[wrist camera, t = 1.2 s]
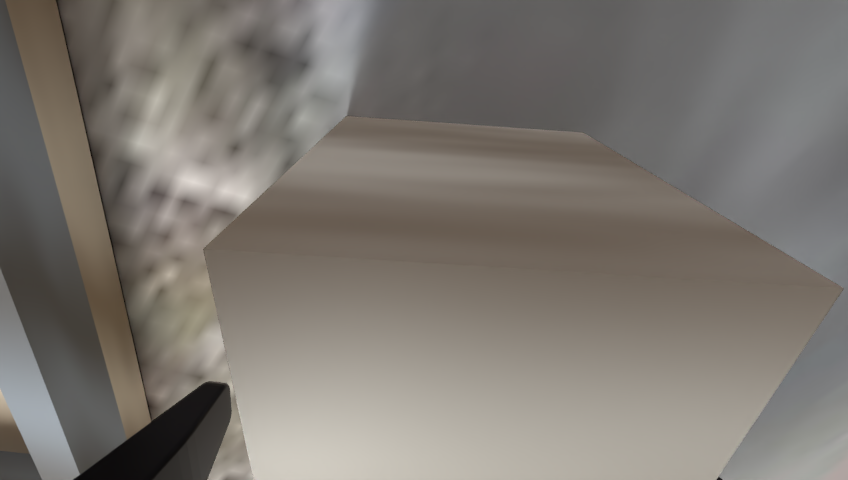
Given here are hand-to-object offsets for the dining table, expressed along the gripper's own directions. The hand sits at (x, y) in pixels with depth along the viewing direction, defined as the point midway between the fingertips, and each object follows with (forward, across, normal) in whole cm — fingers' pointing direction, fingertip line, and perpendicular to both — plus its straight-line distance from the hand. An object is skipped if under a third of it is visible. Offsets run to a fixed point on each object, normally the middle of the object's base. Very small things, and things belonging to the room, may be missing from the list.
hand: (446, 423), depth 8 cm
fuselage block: (+3, 0, 0) cm, 3 cm away
